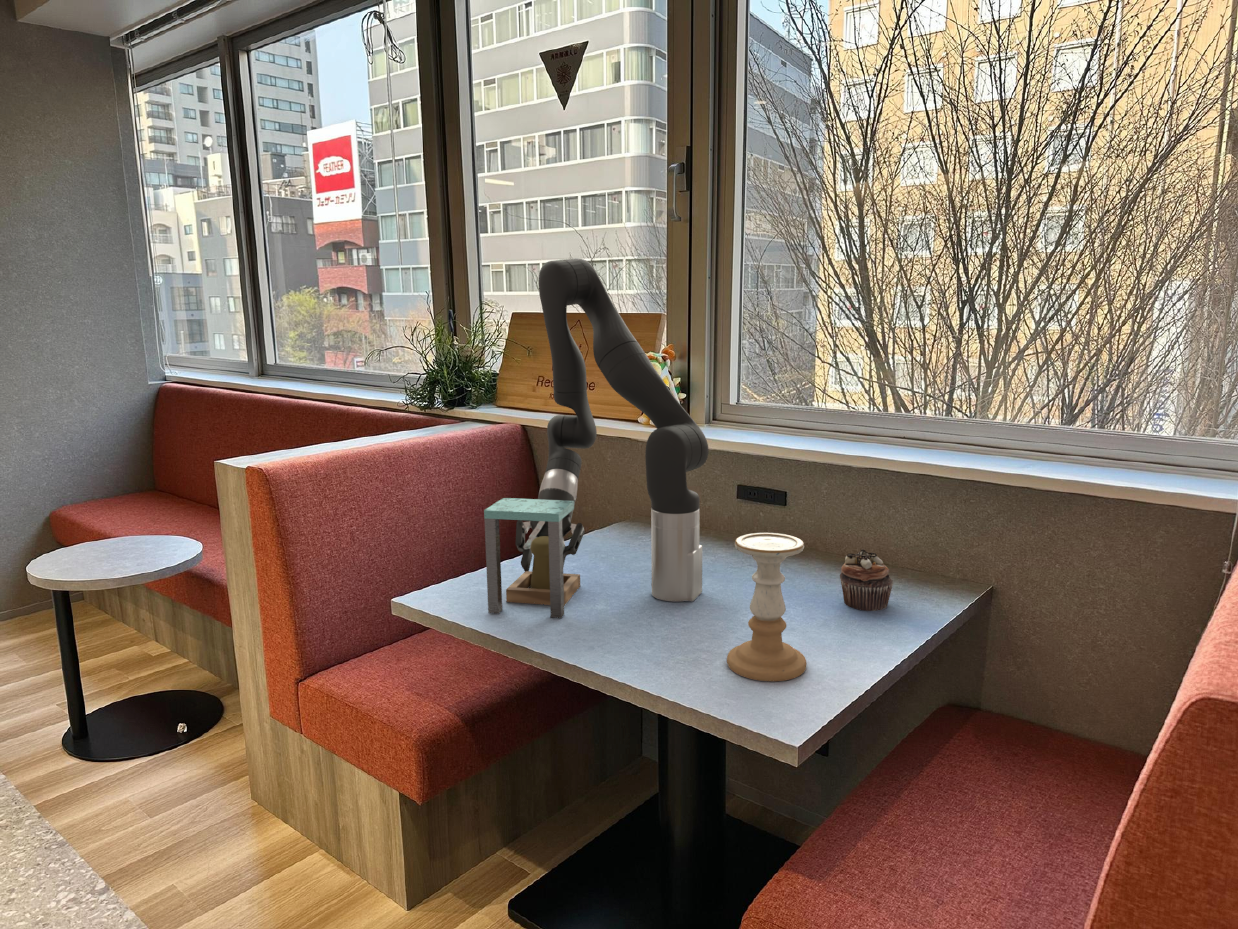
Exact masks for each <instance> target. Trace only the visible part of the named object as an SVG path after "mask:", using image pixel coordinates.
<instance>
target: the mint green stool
mask: <svg viewBox="0 0 1238 929" xmlns="http://www.w3.org/2000/svg"><path fill="white" fill-rule="evenodd" d="M572 510H573V511H574V510H575V504H574V501H564V500H541V499H538V498H534V499H533V498H516V497H515V498H514V497H513V498H511V497H503V498H501V499H500V500H497V501H496V502H495V503H493V504H492V505H490V506H489V507H487V508H485V509H484V510H483V513H484V514H483V516H484V517H483V519H484V538H485V561H486V562H485V564H486V586H487V587H486V588H487V589H486V590H487V591H486V592H487V610H488V611H487V612H488V614H494V615H495V614H497V615H499V614H500V613H501V612H502V611H503V593H502V591H503V590H502V568H501V567H502V566H501V565H502V564H501V562H502V561H501V542H500V539H501V537H500V536H501V535H500V520H512V521H513V520H514V521H518V520H522V521H528V522H530V521H548V538H549V575H550V605H549V606H550V607H549V608H550V611H549V612H550V619H551V618H553V619H562V618H563V617H564V616H565V606H564V579H563V573H564V567H563V539H564V537H563V536H562V519H563V518H564V517H565V516H566V515H567V514H569V513H570V512H571V511H572ZM563 615H564V616H563ZM562 616H563V617H562Z"/></svg>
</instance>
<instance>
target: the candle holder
mask: <svg viewBox="0 0 1238 929" xmlns="http://www.w3.org/2000/svg"><path fill="white" fill-rule="evenodd" d="M734 546H735V549H736V550H737V551H738V552H741V553H743V554H745V555H749V556H751V557H752V559H753V560H754V561H755V562H756V567H757V568H756V571H755V572H754V573H753V574H752V575H751V580H752V581H753V582H755V587H754V591H753V595H752V597H751V600H750V604H749V610H750V613H751V614H752V617H751V618H750V619H749V620H748V622H747V624H748V627H749V629H750V630H751V631H752V635H751V640H747V641H744V642H742V643H741V644H740V645H736V646H735V647H733V648H732V649H730V650H729V651H728V653H727V655H726V663H727V667H728V668H729V669H730V670H731V672H734V674H736V675H738V676H740V677H744V678H746V679H748V680H749V679H751V680H754V681H761V682H783V681H788V680H789V681H790V680H794V679H796V678H799V677H800V676H801V675H803V674H804V673H805V672H806V669H807V663H808V662H807V659H806V656H805V655H804V654H803V653H802V652H801V651H800V650H798V649H796V648H794V647H793V646H792V645H790V644H789V643H787V642H783V635H782V633H783V632H784V631H785V630H786V629H787V625H788V624H787V622H786V620H784V619H783V616H784V615H785V613H786V609H787V608H786V607H787V606H786V603H785V600H784V596H783V592H782V584H783V583H784V582H785V580H786V576H785V575H784V574H783V573H782V572H781V564H782V563H783V562H784V561H785V560H786V558H787V557H792V556H796V555H798V554H801V553H803V550H804V548H805V543H804V541H803V540H802V539H801V538H798V537H796V536H793V535H789V534H785V533H778V532H754V533H753V532H752V533H751V532H750V533H746V534H743V535H740V536H738V537H736V539H735V541H734Z"/></svg>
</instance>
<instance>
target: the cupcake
mask: <svg viewBox="0 0 1238 929" xmlns="http://www.w3.org/2000/svg"><path fill="white" fill-rule="evenodd" d="M844 561H845V562H844V564H842V566H841V568H840V570H841V572H840V575H839V580H840V584H841V589H842V597H843V602H844V605H845V606H847V607H848V608H850V609H851V608H852V609H854V610H858V611H862V612H864V611H866V612H879V611H882V610H883V611H884V610H885V609H887V608H888V605H889V600H890V596H891V592H892V589H893V586H894V580H893V579H892V578H891V576H890V574H889V573H890V569H889V568H888V567H887V566H886V565H885V564H884V562H883V560H882V559H880V557H879V556H878V555H877V553H876V552H868V551H866V550H865V549H860V551H859V552H858V553H847V554H846V556H845V560H844Z"/></svg>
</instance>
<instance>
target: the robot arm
mask: <svg viewBox="0 0 1238 929" xmlns="http://www.w3.org/2000/svg"><path fill="white" fill-rule="evenodd" d="M538 292H539V293H538V294H539V298H540V303H541V304H540V305H541V308H542V309H541V310H542V314H543V320H544V325H545V330H546V334H547V339H548V344H549V348H550V349H549V350H550V356H551V363H552V364H551V365H552V385H553V386H552V387H553V400H554V402H555V404H557V405H559V406H561V407H564V408H565V407H566V408H567V409H571V410H572V411H573V412H574V413H575V414H574V415H573V414H572V415H571V414H569V415H568V414H567V415H566V414H556V415H554V416H552V417H551V418H550V420H549V422H548V423H547V427H546V432H547V433H546V434H547V441H548V456H547V457H548V459H547V464H546V468H545V472H544V475H543V477H542V478H543V479H542V481H541V484H540V486H539V487H540V488H539V492H538V497H537V499H541V500H564V501H574V505H575V504H576V503H575V502H576V500H577V497H578V496H577V494H578V484H579V479H580V474H581V468H582V458H581V456H580V454H579V453H577V452H576V451H574V450H572V449H580V450H581V449H585V450H586V449H590V448H592V446H594V443H595V442H596V439H597V434H598V433H597V427H596V423H595V419H594V416H593V413H592V410H591V408H590V404H589V399H588V389H587V387H588V385H587V368H586V362H585V359H584V357H583V353H582V352H581V350H580V348H579V346H578V345H577V343H576V341H575V340H574V337H573V335H572V333H571V330H570V327H569V324H568V319H567V316H568V315H567V313H568V312H567V309H568V307H567V306H574V305H578V306H579V307H580V308H581V309H582V311H583V312H584V314H585V315H586V316H587V318H588V320H589V322H590V324H591V327H592V331H593V332H592V333H593V334H592V338H593V339H592V342H593V343H592V347H593V348H592V349H593V358H594V361H595V363H596V365H597V367H598V369H599V370H600V372H601V373H602V375H603V376H604V378H605V380H606V381H607V383H608V384H609V386H610V387H611V388H612V389H613V390H614V391H615V392H616V393H617V394H618V395H620V397H622V399H624V400H625V401H627V402H628V403H630V404H631V405H632V406H634V407H635V408H636V409H638V410H639V411H641V412H642V413H643V414H644V415H646V417H647V418H648V419H649V420H650V421H651V422H652V424H653V425H654V427H655V428H656V429H654V430H653V431H652V432H651V433H650V434H649V435H648V438H647V441H646V444H645V452H644V453H645V454H644V455H645V476H646V478H645V479H646V488H647V489H646V490H647V493H648V496H649V498H650V503H651V504H650V506H651V508H650V510H651V512H650V516H651V517H650V519H651V521H650V523H651V525H650V526H651V527H650V528H651V530H650V531H651V536H650V537H651V542H650V543H651V548H650V550H651V553H650V554H651V556H650V557H651V559H650V560H651V581H650V582H651V583H650V584H651V595H652V597H654V598H656V599H657V600H661V601H666V602H684V601H685V602H687V601H688V602H694V601H695V600H696V599H697V598H698V597H699V596H700V595H701V594H702V592H703V545H702V544H700V507H701V506H700V502H701V500H700V495H699V494H698V493H697V492H696V491H694V490H691V489H689V488H688V483H687V473H688V472H690V471H694V470H697V469H699V468H701V467H702V466H704V465H705V463H706V462H707V460H708V458H709V457H708V456H709V443H708V441H707V437H706V435H705V434H704V432H703V430H702V429H701V428H700V426H699V425H698V423H697V422H696V421H695V420H694V418H692V417H691V415H690V414H689V413H688V412H687V411H686V409H685V408H684V407H683V406H682V404H681V403H680V402H679V401H678V400H677V398H676V397H675V396H674V395H673V393H672V391H671V390H670V389H669V387H668V385H667V384H666V382H665V381H664V380H663V378H662V377H661V375H660V374H659V372H658V371H657V370H656V368H655V367H654V365H653V364H652V362H651V360H650V358H649V356H648V355H647V354H646V352H645V350H644V349H643V348H642V346H641V345H640V343H639V342H638V341H637V339H636V337H635V336H634V335H633V333H632V332H631V331H630V329H629V327H628V326H627V325H626V322H625V321H624V319H623V317H622V316H621V314H620V313H619V311H618V310H617V308H616V307H615V305H614V303H613V301H612V299H611V297H610V295H609V293H608V291H607V289H606V288H605V286H604V284H603V282H602V280H601V277H600V276H599V274H598V272H597V271H596V268H594V267H593V265H592V264H591V263H590V262H589V261H588V260H585V259H583V258H563V259H554V260H549V261H547V262H545V263H544V264H543V265H542V266H541V268H540V271H539V273H538ZM573 512H574V509H573V510H572V511H571V512H570V513H569V514H567V515H566V516H565V517H564V518H563V519H562V536H563V568H564V567H565V561H566V557H567V556H569V555H572V556H574V555H576V554H577V553H578V549H579V547H580V546H581V542H582V540H583V538H584V534H585V532H586V531H585V528H584V526H583V524H582V523H581V522H578V523H577V524H576V523H572V518H573ZM530 528H531V529H532V532H531V533H530V535H529V536H528V539H527V540H526V534H528V531H529V530H530ZM570 532H571V533H572V535H571V538H570V540H569V543H568V545H566V543H565V539H564V537H566V535H567V534H569V533H570ZM540 536H548V521H523V520H516V529H515V546H516V548H517V550H518V551H519V552H520V553H521V552H522V555H521V560H520V565H521V568H522V569H523V571H524V572H525V571H530V568H531V564H532V559H533V554H532V552H531V543H532V541H533V540H534V539H535V538H537V537H540Z"/></svg>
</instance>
